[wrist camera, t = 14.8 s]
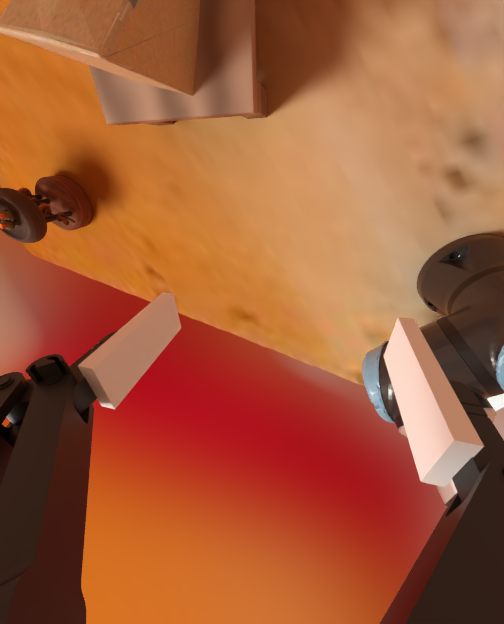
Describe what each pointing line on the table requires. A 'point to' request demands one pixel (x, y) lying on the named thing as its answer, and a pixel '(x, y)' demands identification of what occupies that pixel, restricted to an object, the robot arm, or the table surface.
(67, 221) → the small figurine
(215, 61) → the stool
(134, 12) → the sandwich container
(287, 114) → the table surface
